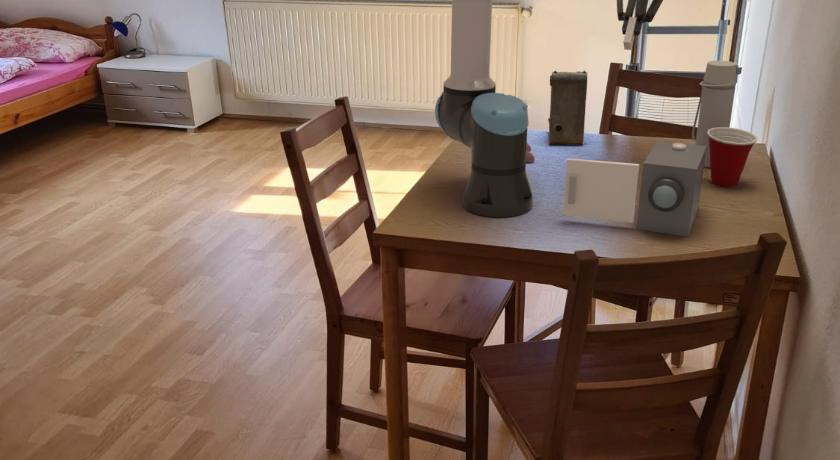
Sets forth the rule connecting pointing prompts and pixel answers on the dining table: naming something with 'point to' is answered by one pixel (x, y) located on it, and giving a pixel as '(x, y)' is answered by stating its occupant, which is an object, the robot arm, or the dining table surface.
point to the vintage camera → (567, 107)
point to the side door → (600, 189)
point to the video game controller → (529, 155)
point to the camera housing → (670, 188)
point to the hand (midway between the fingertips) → (627, 45)
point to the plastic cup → (728, 154)
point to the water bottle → (714, 101)
